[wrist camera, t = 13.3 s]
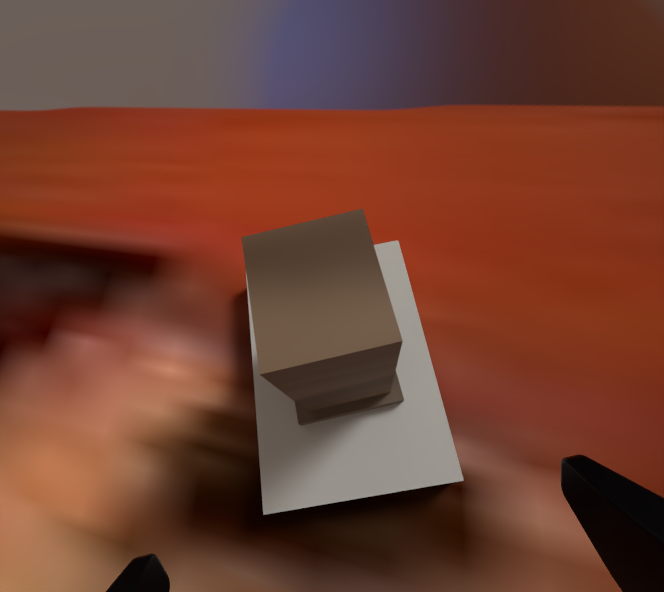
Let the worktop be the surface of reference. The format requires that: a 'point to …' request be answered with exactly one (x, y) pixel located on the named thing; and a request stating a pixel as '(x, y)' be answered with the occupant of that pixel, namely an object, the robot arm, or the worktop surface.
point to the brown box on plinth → (323, 317)
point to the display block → (359, 426)
